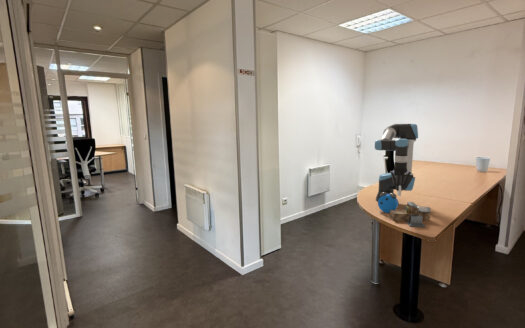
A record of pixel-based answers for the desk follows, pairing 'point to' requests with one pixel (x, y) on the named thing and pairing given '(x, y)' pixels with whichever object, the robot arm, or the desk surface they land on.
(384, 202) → the alarm clock
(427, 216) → the beam
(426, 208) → the axle
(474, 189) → the desk surface
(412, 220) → the grey slotted plate stand
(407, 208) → the tan rectangular block
